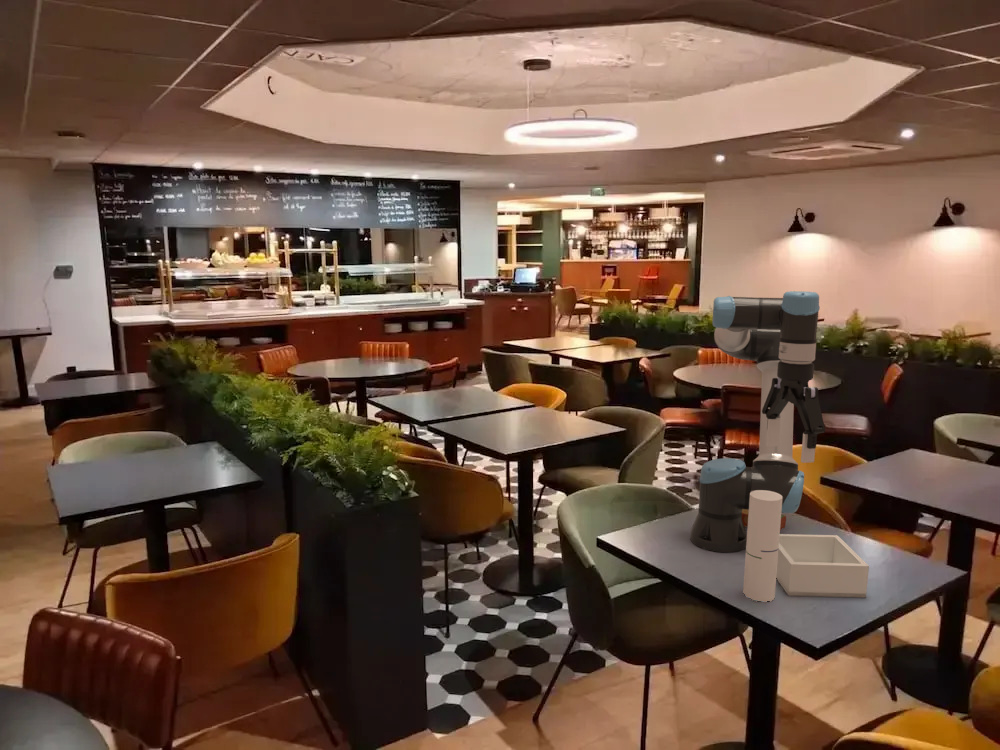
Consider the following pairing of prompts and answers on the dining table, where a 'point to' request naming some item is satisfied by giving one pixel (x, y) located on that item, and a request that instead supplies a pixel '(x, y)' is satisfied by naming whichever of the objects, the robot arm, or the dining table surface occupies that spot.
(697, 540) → the robot arm
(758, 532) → the cylindrical container
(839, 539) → the beige bin
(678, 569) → the dining table surface
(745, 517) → the carton
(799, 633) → the dining table surface
